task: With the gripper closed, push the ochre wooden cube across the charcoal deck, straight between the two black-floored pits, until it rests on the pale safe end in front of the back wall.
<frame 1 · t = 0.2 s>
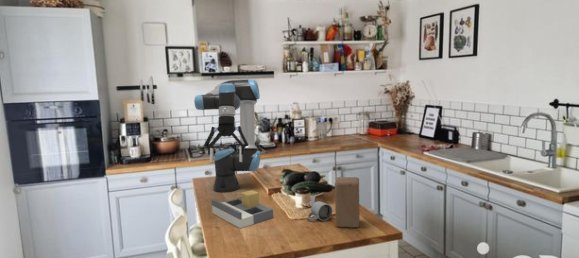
hand: (226, 162, 176), 27 cm above the counter, tool tilted 20°, fingers open, 13 cm apart
ochre cube: (250, 204, 187), point 4 cm above the counter, touching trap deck
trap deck: (242, 215, 184), on the counter
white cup: (307, 204, 196), on the counter
wooden block: (347, 223, 169), on the counter
ceramic mug: (319, 219, 176), on the counter
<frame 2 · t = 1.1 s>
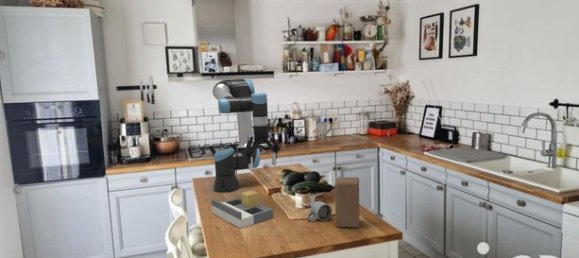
hand: (262, 167, 189), 21 cm above the counter, tool pointing down, fingers open, 13 cm apart
nothing on the counter moved.
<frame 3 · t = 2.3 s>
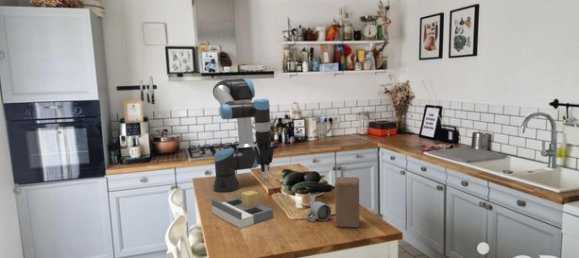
hand: (265, 177, 191), 16 cm above the counter, tool pointing down, fingers closed
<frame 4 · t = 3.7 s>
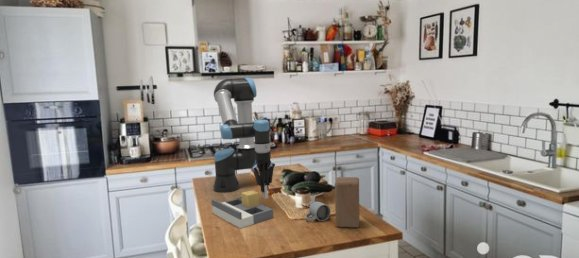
hand: (265, 197, 192), 5 cm above the counter, tool pointing down, fingers closed
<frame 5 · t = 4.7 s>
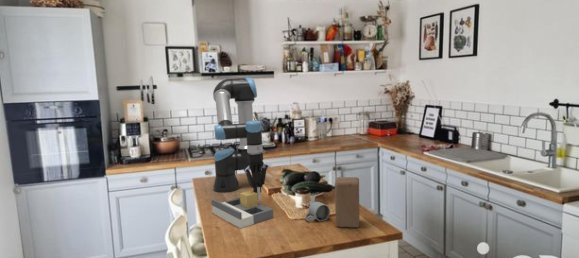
hand: (257, 199, 189), 6 cm above the counter, tool pointing down, fingers closed
ochre cube: (249, 205, 186), point 4 cm above the counter, touching gripper, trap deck
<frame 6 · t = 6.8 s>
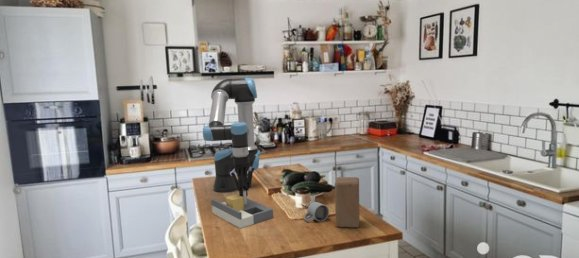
hand: (244, 203, 184), 6 cm above the counter, tool pointing down, fingers closed
ochre cube: (235, 209, 181), point 4 cm above the counter, touching gripper, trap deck
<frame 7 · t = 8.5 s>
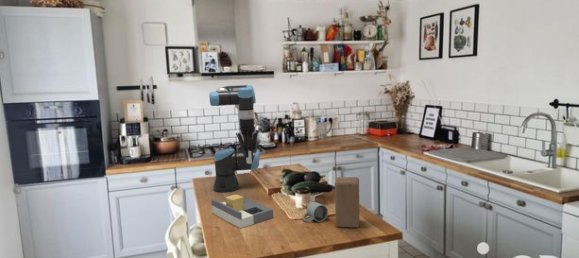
hand: (249, 163, 199), 21 cm above the counter, tool pointing down, fingers closed
ochre cube: (235, 209, 181), point 4 cm above the counter, touching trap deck
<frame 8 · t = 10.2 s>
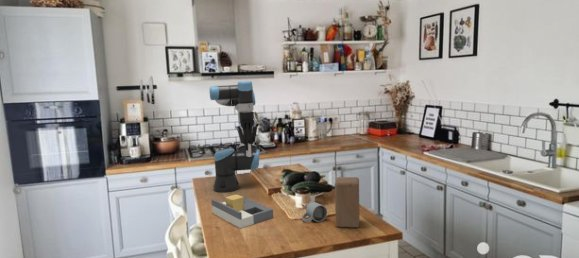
hand: (248, 156, 201), 24 cm above the counter, tool pointing down, fingers closed
at the end: ochre cube 0.8 cm from the target spot, point 4.0 cm above the counter; ochre cube tilted 0° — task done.
